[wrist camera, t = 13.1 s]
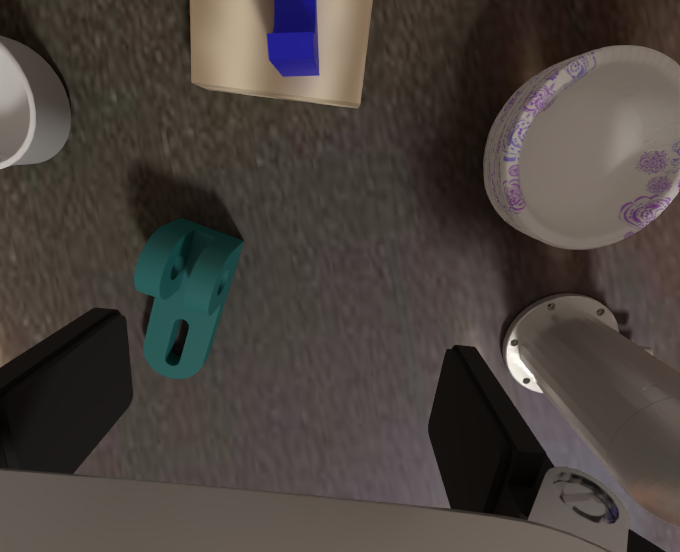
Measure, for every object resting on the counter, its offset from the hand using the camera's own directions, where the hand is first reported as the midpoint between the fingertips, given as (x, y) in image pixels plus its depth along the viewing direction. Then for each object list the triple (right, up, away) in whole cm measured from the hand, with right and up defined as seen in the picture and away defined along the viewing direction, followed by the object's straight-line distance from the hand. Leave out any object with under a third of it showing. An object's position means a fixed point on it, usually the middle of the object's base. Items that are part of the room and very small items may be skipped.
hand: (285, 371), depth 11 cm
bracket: (-15, 0, +31) cm, 34 cm away
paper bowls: (+22, +15, +25) cm, 36 cm away
